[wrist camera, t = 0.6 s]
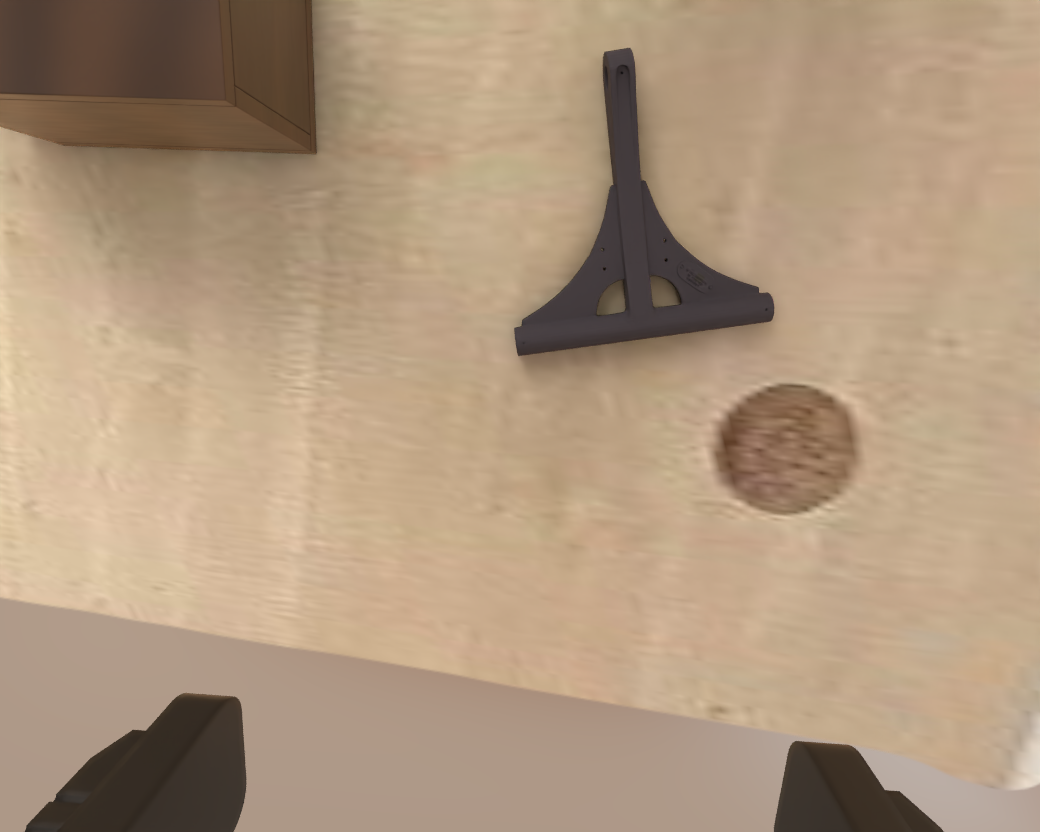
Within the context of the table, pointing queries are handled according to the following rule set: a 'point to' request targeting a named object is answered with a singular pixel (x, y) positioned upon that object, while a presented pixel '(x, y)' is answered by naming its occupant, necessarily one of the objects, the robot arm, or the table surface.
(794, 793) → the robot arm
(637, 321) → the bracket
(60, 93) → the cabinet
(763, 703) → the table surface
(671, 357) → the table surface
